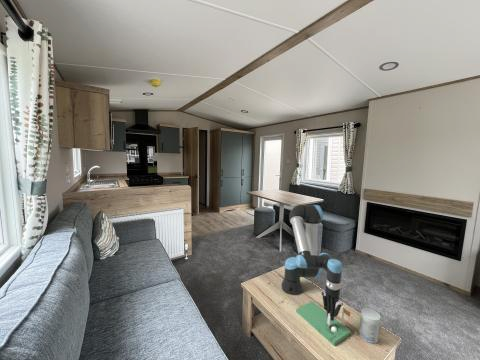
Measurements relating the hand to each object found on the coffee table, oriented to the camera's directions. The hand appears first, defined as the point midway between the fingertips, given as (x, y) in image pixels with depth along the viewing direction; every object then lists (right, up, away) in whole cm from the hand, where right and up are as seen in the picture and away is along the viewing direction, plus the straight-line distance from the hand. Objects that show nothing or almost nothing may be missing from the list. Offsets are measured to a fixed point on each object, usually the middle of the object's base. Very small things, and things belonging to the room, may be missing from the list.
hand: (329, 323), depth 124 cm
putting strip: (-3, -3, +5) cm, 7 cm away
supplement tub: (+20, -5, -4) cm, 21 cm away
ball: (+2, -2, -2) cm, 4 cm away
